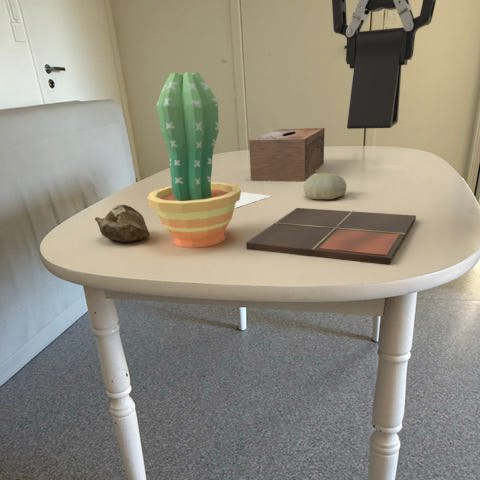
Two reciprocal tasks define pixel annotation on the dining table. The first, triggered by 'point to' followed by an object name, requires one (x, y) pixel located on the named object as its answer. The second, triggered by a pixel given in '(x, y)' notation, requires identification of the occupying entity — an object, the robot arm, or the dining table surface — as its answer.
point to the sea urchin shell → (324, 186)
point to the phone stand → (376, 79)
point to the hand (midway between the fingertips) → (377, 66)
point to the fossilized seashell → (123, 224)
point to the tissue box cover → (287, 154)
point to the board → (336, 235)
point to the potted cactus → (192, 165)
